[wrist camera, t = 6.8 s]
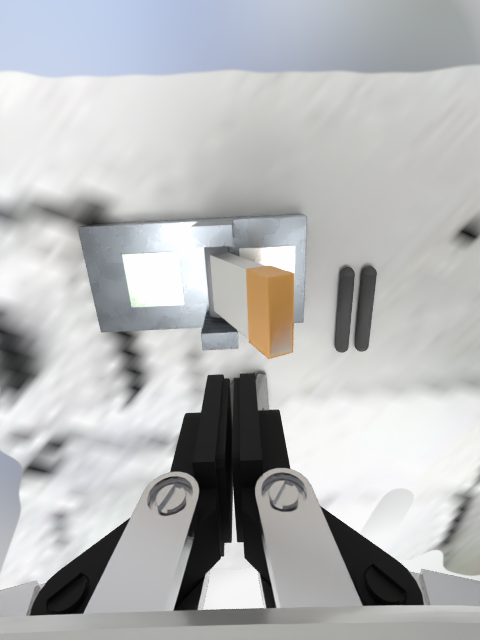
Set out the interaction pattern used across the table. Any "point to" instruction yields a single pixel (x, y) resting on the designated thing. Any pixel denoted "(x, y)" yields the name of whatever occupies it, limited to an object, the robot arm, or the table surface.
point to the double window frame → (182, 269)
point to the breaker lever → (252, 299)
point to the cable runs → (363, 310)
